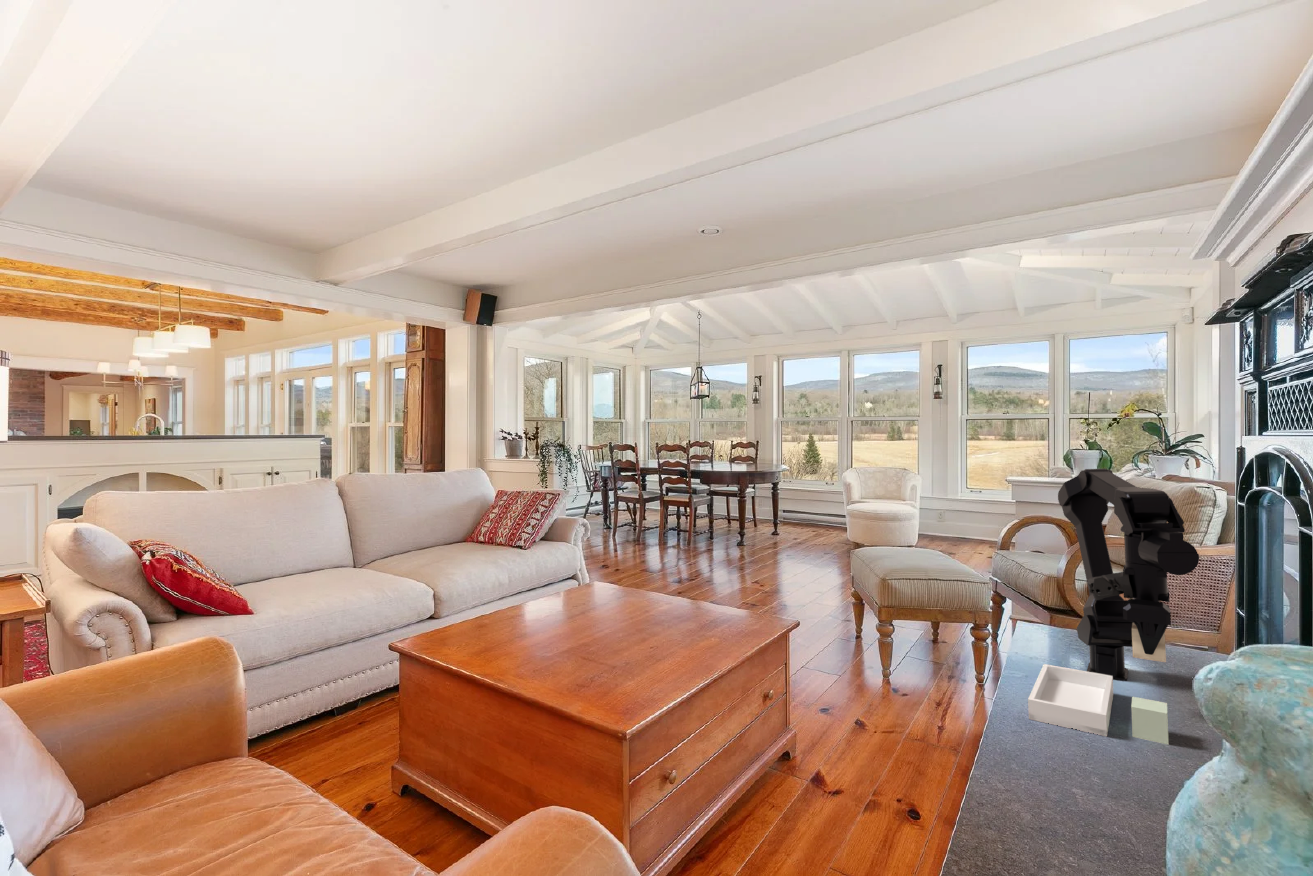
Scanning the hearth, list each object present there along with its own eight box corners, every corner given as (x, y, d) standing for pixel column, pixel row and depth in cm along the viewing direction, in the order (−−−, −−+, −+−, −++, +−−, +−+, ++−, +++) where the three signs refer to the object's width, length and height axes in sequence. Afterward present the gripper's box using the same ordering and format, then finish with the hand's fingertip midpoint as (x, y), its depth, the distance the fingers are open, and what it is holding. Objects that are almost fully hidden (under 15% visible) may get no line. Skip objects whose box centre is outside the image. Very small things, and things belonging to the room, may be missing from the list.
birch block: (1133, 649, 112) (1132, 622, 112) (1165, 654, 109) (1164, 626, 109) (1132, 657, 108) (1131, 629, 108) (1166, 662, 105) (1164, 633, 105)
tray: (1044, 681, 122) (1043, 664, 122) (1113, 694, 115) (1112, 676, 115) (1028, 719, 107) (1028, 699, 107) (1106, 736, 100) (1106, 715, 100)
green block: (1133, 726, 103) (1132, 696, 103) (1168, 733, 101) (1167, 703, 100) (1132, 737, 100) (1131, 706, 100) (1168, 745, 97) (1167, 713, 97)
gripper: (1093, 548, 121) (1096, 627, 121) (1085, 567, 106) (1088, 657, 106) (1167, 553, 114) (1170, 637, 114) (1169, 574, 99) (1172, 671, 99)
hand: (1148, 649), depth 109 cm, fingers closed on birch block, 4 cm apart
